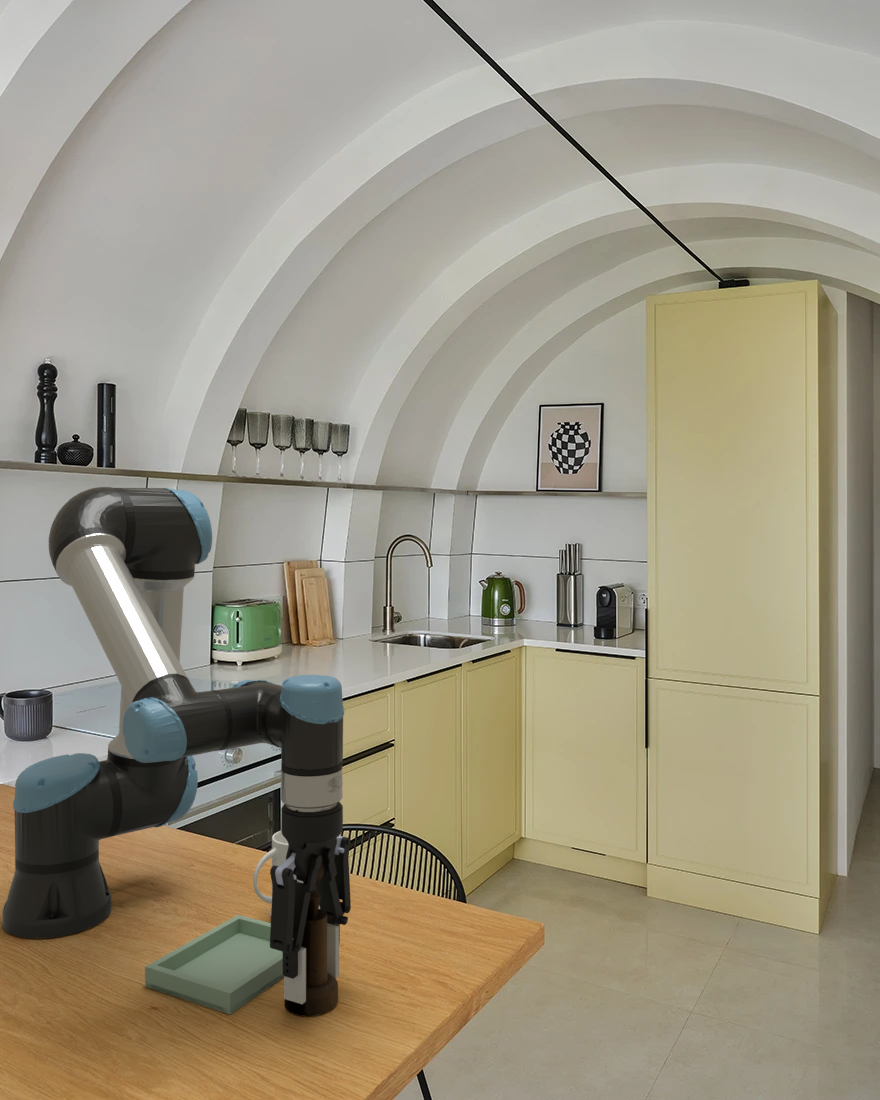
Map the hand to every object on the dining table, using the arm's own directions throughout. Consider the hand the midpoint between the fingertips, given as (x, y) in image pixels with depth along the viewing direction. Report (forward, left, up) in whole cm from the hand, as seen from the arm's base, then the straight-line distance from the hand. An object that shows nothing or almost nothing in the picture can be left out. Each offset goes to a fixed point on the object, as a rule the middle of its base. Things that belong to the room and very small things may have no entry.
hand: (312, 987), depth 116 cm
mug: (-18, +19, -2) cm, 26 cm away
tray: (-14, +2, -2) cm, 14 cm away
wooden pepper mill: (0, 0, -2) cm, 2 cm away
